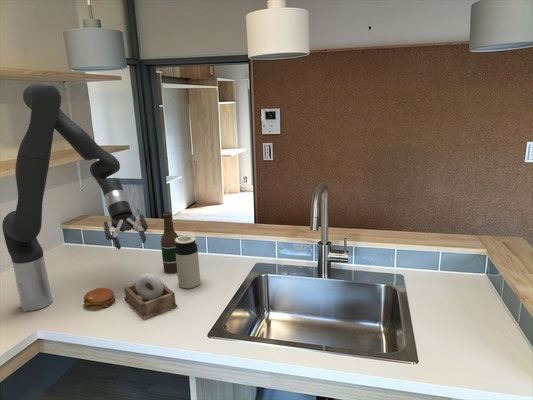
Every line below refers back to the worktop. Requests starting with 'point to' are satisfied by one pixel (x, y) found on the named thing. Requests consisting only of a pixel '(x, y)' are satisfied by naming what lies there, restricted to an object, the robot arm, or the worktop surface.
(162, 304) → the walnut stand
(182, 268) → the travel mug
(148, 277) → the donut
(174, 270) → the beer bottle
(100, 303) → the burger
